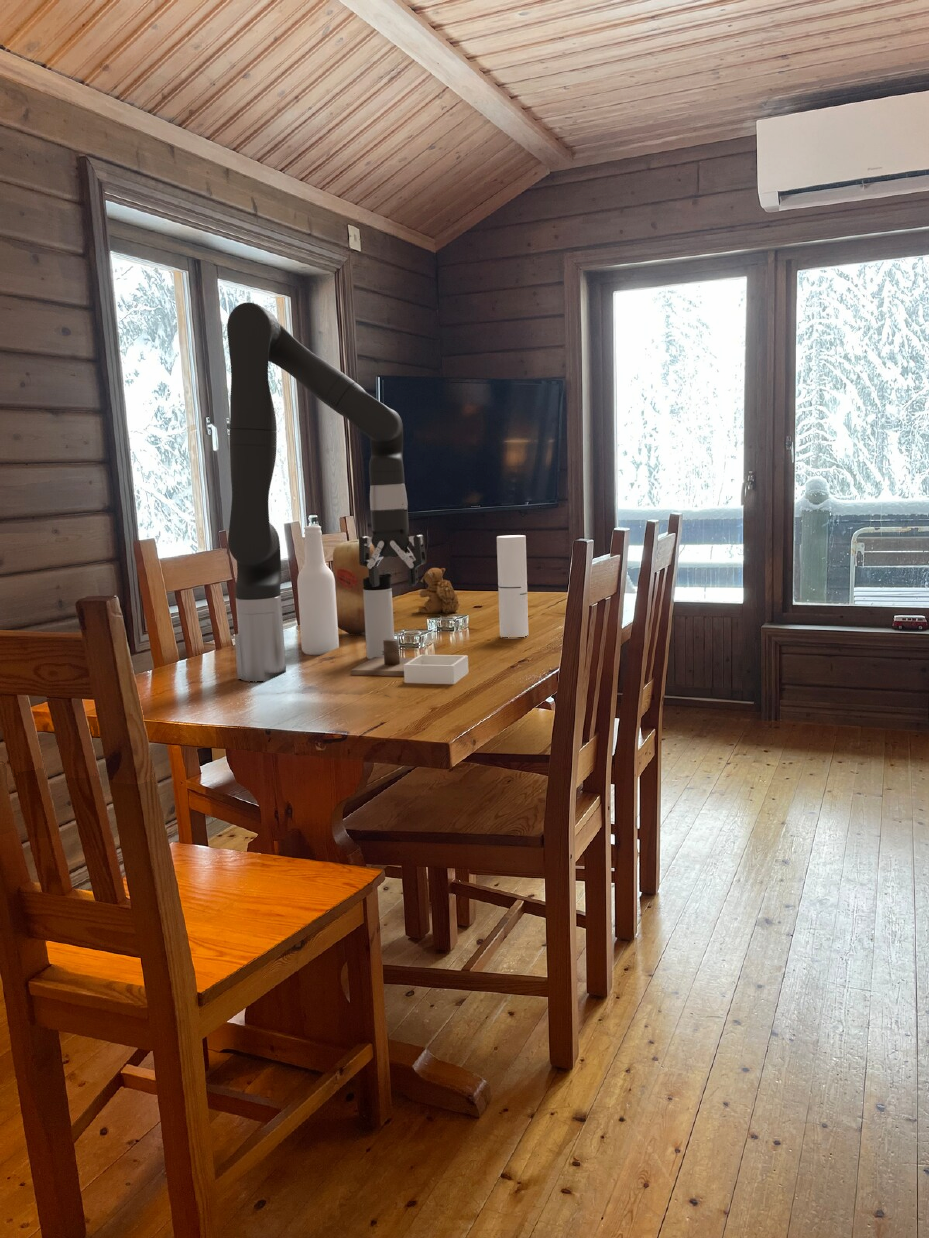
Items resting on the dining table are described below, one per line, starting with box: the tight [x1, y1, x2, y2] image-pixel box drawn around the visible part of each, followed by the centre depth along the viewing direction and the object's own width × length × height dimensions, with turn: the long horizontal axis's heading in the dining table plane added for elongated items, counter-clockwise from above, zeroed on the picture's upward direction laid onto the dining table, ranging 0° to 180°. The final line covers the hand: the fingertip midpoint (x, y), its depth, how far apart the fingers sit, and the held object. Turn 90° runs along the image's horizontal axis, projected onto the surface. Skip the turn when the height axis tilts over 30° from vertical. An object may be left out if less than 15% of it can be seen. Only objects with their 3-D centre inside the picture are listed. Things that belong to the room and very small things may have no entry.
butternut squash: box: [332, 538, 376, 637], centre depth 240 cm, size 14×13×25 cm
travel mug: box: [363, 572, 395, 660], centre depth 204 cm, size 6×7×20 cm
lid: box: [350, 638, 415, 677], centre depth 192 cm, size 13×13×6 cm
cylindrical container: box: [496, 534, 529, 639], centre depth 231 cm, size 7×7×25 cm
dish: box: [403, 654, 469, 685], centre depth 182 cm, size 10×10×5 cm
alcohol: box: [296, 525, 340, 656], centre depth 219 cm, size 9×9×30 cm
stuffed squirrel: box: [418, 567, 461, 614], centre depth 277 cm, size 10×14×13 cm
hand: (394, 586), depth 191 cm, fingers open, 8 cm apart
